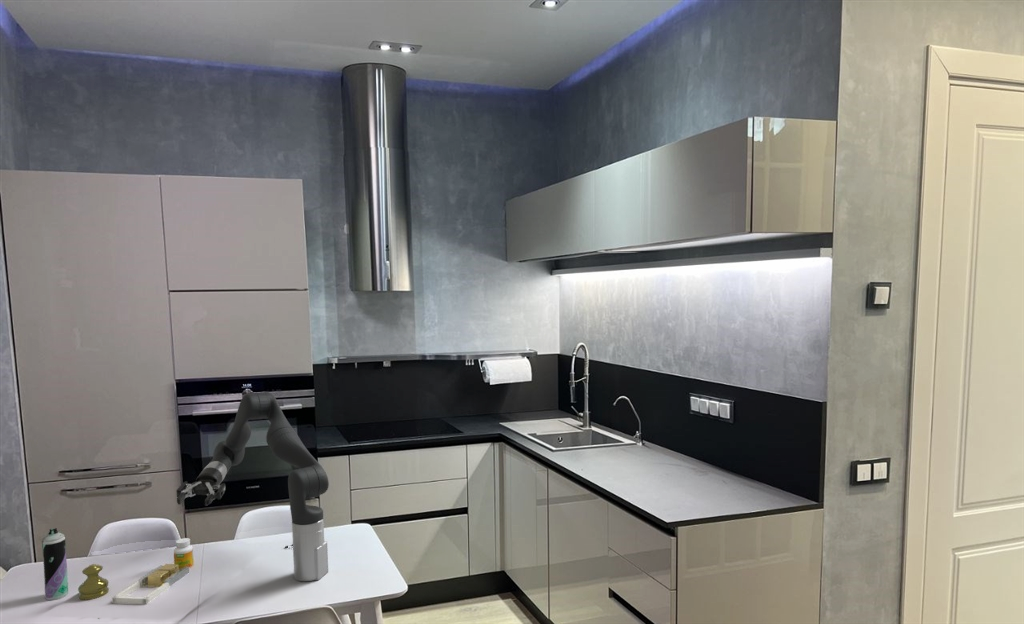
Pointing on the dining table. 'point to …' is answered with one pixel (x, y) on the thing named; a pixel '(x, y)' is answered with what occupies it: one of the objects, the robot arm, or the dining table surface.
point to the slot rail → (170, 580)
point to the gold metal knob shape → (93, 584)
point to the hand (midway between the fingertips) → (192, 502)
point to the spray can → (55, 565)
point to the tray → (123, 599)
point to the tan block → (158, 577)
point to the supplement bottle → (183, 553)
